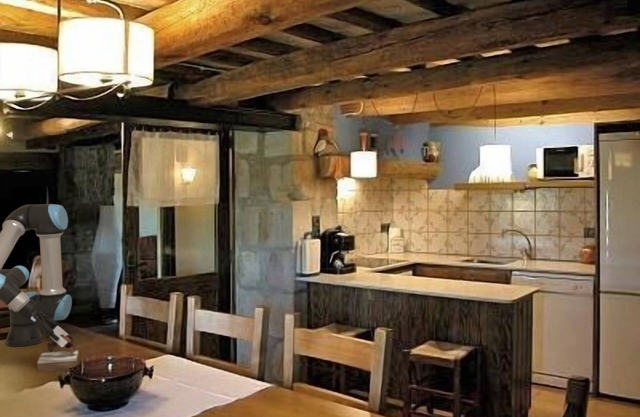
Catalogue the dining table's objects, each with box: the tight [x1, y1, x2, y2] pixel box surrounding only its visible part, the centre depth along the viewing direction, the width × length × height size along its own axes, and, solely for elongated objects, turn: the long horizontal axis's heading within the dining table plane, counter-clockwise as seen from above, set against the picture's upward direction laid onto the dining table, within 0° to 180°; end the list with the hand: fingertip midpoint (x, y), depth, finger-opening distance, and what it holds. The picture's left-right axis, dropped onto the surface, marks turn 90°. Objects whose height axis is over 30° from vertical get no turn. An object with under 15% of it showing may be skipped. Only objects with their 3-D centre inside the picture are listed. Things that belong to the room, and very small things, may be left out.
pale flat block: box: [37, 349, 80, 373], centre depth 246 cm, size 14×14×4 cm
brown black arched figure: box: [46, 334, 76, 354], centre depth 247 cm, size 12×10×8 cm
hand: (66, 341), depth 247 cm, fingers closed on brown black arched figure, 11 cm apart
